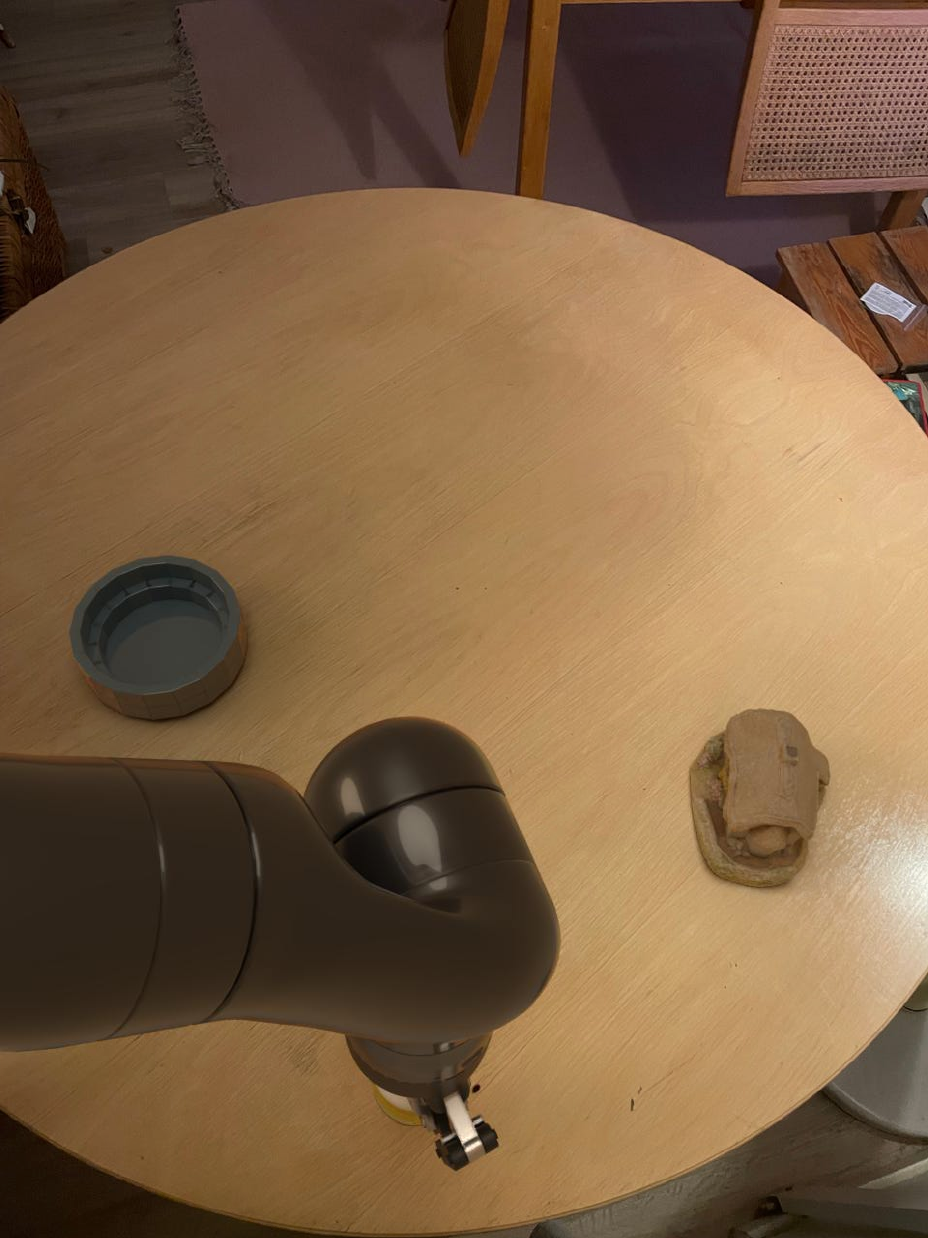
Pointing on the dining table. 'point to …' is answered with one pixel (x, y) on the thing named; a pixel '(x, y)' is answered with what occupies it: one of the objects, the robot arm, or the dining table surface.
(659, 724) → the dining table surface
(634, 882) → the dining table surface
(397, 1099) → the supplement bottle
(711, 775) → the ceramic model
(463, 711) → the dining table surface
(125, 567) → the bowl
